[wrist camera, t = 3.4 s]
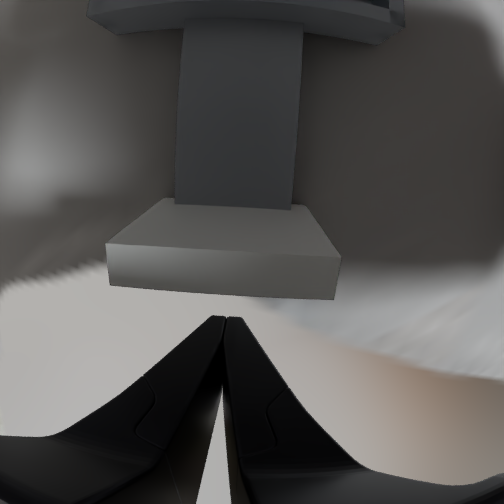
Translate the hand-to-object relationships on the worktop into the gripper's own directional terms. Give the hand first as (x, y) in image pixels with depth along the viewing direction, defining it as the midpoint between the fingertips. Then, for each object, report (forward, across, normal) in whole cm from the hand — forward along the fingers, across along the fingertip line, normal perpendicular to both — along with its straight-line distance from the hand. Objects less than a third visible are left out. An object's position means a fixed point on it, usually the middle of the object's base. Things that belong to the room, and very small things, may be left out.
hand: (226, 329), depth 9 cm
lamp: (+2, 0, -8) cm, 8 cm away
